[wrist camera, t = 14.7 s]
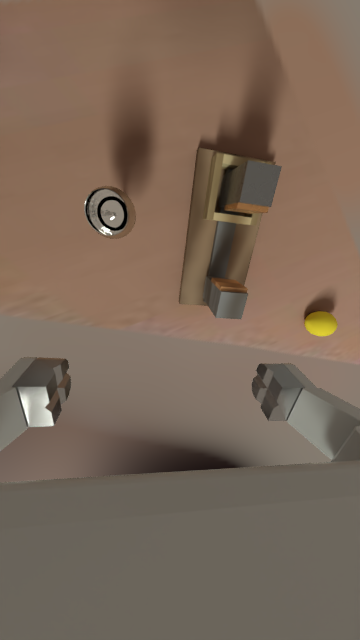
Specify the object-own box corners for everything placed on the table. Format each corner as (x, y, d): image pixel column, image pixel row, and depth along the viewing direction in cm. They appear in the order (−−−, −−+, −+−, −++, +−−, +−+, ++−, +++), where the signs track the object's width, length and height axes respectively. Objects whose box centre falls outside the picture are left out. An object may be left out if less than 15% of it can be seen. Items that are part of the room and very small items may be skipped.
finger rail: (178, 301, 41) (187, 328, 31) (197, 150, 31) (219, 115, 20) (235, 305, 43) (261, 331, 32) (270, 164, 33) (324, 139, 22)
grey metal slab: (222, 176, 30) (248, 160, 22) (248, 180, 31) (281, 166, 23) (217, 211, 32) (238, 208, 24) (240, 214, 33) (269, 212, 25)
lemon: (294, 326, 48) (306, 337, 43) (304, 304, 45) (318, 314, 40) (322, 331, 48) (338, 343, 43) (333, 310, 46) (351, 320, 41)
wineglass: (125, 186, 32) (111, 169, 21) (146, 222, 34) (143, 223, 23) (95, 207, 32) (66, 201, 22) (117, 241, 35) (102, 250, 24)
